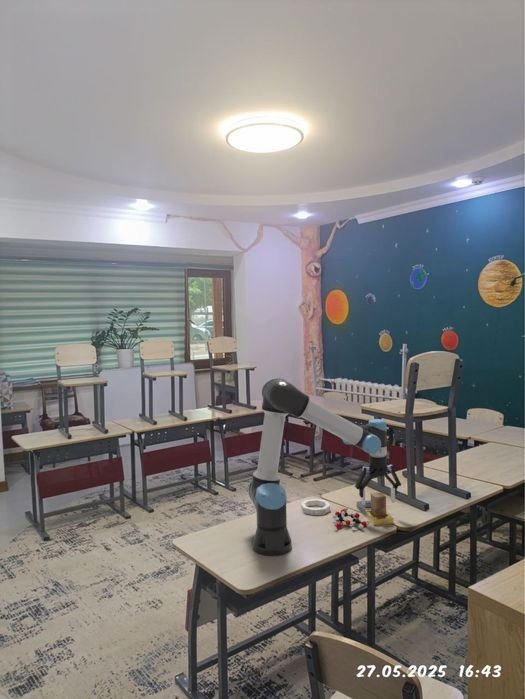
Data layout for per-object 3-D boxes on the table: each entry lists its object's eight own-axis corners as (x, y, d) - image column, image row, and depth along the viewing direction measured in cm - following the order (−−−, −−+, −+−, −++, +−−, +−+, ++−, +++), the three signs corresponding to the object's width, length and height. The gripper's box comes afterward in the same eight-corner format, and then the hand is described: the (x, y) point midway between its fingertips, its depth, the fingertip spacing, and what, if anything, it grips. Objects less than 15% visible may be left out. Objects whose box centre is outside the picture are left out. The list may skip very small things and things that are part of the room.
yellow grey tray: (373, 525, 208) (373, 519, 208) (356, 506, 229) (356, 501, 229) (393, 523, 210) (393, 517, 210) (374, 505, 230) (374, 499, 230)
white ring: (305, 516, 220) (305, 510, 220) (299, 505, 232) (299, 500, 232) (332, 513, 222) (332, 508, 222) (324, 503, 234) (324, 498, 234)
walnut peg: (375, 522, 212) (375, 497, 211) (370, 517, 217) (370, 493, 216) (386, 521, 212) (386, 496, 212) (381, 516, 217) (381, 492, 217)
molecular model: (334, 516, 219) (368, 510, 216) (337, 540, 209) (372, 535, 206) (330, 501, 214) (364, 496, 211) (332, 526, 203) (368, 520, 201)
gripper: (353, 459, 207) (353, 508, 208) (408, 455, 211) (408, 503, 212) (347, 454, 214) (348, 502, 216) (401, 451, 218) (401, 497, 220)
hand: (378, 503), depth 214 cm, fingers open, 13 cm apart
